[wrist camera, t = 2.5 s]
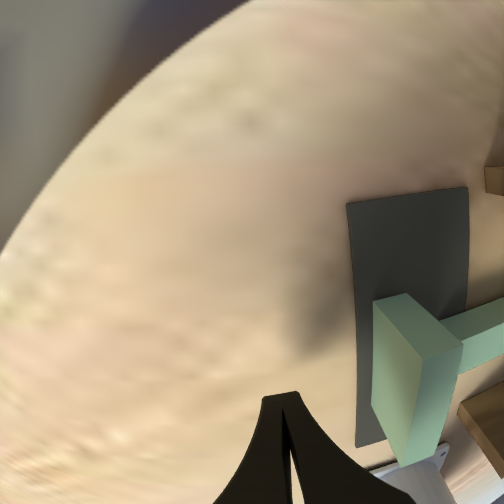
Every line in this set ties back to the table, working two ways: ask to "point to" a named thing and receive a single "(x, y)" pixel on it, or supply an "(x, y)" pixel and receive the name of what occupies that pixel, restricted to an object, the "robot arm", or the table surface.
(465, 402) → the tunnel
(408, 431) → the teal block
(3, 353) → the table surface
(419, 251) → the mat
